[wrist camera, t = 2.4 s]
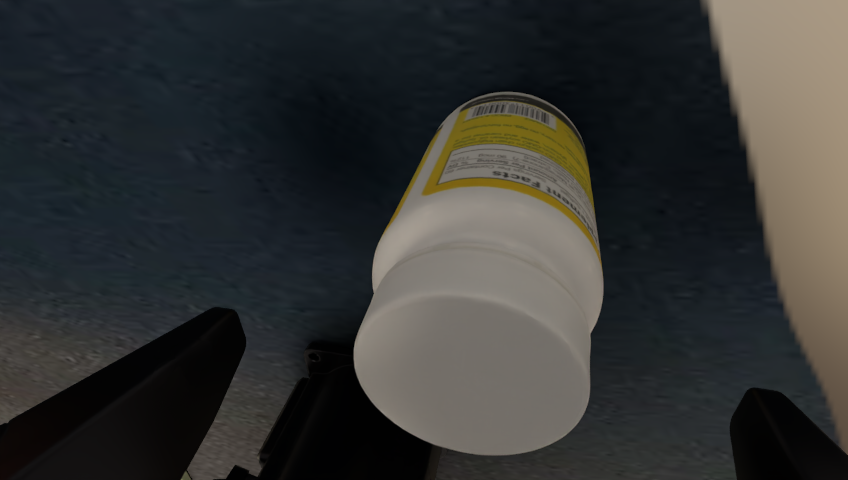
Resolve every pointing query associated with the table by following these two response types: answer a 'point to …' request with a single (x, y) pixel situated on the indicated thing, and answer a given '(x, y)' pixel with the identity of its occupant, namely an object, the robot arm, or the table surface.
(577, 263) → the supplement bottle
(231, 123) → the table surface
